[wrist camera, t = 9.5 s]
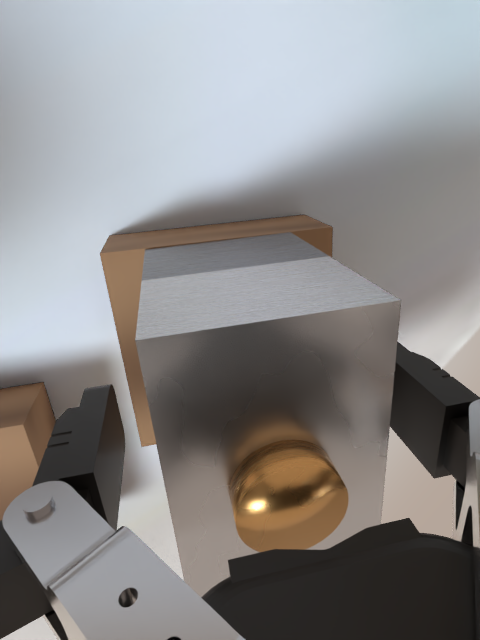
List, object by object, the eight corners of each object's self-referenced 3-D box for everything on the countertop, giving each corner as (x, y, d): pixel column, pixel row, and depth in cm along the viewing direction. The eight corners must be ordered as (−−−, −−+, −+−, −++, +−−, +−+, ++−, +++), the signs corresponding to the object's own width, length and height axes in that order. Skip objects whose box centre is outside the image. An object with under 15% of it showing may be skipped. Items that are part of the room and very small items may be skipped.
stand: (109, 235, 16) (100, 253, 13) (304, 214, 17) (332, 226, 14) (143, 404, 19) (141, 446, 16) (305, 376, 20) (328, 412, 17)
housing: (144, 249, 13) (133, 362, 6) (290, 231, 14) (426, 315, 7) (178, 440, 17) (195, 658, 9) (295, 418, 17) (391, 604, 10)
